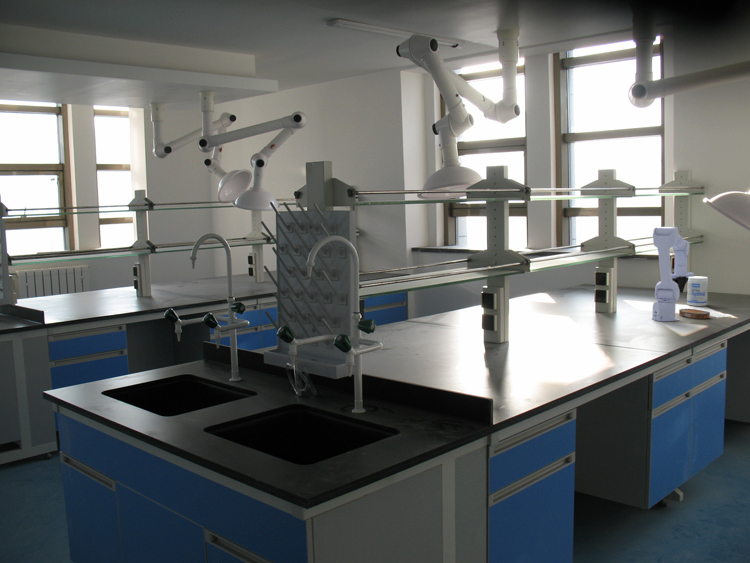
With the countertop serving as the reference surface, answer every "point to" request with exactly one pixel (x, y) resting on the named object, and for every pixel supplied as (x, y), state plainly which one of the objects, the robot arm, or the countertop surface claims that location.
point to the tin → (694, 313)
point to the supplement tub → (697, 291)
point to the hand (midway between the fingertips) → (680, 292)
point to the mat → (717, 315)
